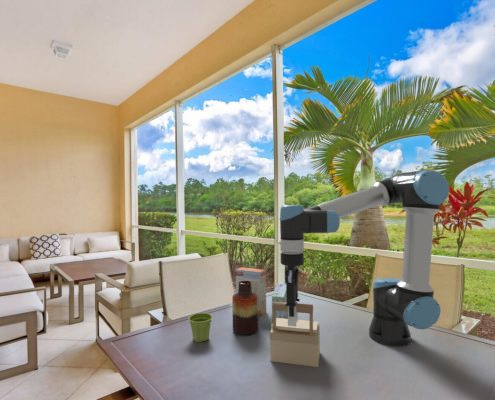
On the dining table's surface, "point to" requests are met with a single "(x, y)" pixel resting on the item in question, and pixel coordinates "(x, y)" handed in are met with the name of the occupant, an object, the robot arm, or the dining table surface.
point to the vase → (245, 310)
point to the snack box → (280, 300)
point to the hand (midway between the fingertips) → (292, 323)
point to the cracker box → (254, 284)
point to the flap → (300, 325)
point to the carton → (295, 347)
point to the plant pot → (200, 326)
